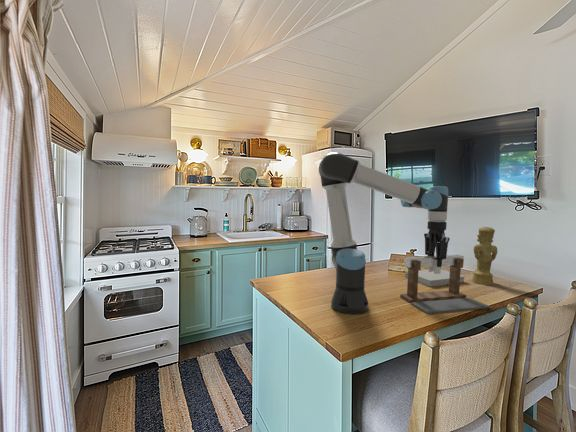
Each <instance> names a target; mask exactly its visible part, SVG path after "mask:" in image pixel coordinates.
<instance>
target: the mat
mask: <svg viewBox="0 0 576 432" xmlns="http://www.w3.org/2000/svg"><path fill="white" fill-rule="evenodd" d="M410 305H411V306H413V307H415V308H416V309H418V310H419V311H422V312H423V313H425V314H426V315H431V314H442V313H451V312H463V311H473V310H483V309H490V308H491V307H490V305H487V304H486V303H483V302H481V301H479V300H476V299H475V298H472V297H466V298H460V299H448V300H436V301H425V302H413V303H410Z"/></svg>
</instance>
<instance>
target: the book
mask: <svg viewBox="0 0 576 432" xmlns="http://www.w3.org/2000/svg"><path fill="white" fill-rule="evenodd" d="M404 277H405V278H406V279H408V271H406V272H404ZM449 277H450V270H449V271H448V270H445V269H442V268H441V274H434V272H429V271H428V269H422V270H421V269H420V270H418V284H419V283H420V284H422V285H424V286H427V287H430V288H432V287H439V286H440V287H441V286H447V284H448V285H449ZM465 278H466V276H465V275H462V274H460V284H462V283H461V282H463V283H464V282H465Z"/></svg>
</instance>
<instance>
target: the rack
mask: <svg viewBox="0 0 576 432" xmlns="http://www.w3.org/2000/svg"><path fill="white" fill-rule="evenodd" d="M463 261H464V262H465V258H464V259H456V265H451V266H449V272H450V277H449V284H448V290H436V291H424V292H423V291H422V292H418V288H419V286H418V285H419V282H418V271H420V270H421V268H422V267H421V261H413V268H409V267H407V266H405V267H406V268H407V272H408V278H407V288H406V290H407V291H406V293H400V296H399V297H400V298H401V299H402V300H404V301H405V302H407V303H408V304H411V303H413V302H425V301H436V300H448V299H460V298H467V294H465V293H462V292H461V291H460V285H461V283H460V275H461V270H462V269H463V268H464V265H463Z"/></svg>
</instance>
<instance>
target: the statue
mask: <svg viewBox="0 0 576 432" xmlns="http://www.w3.org/2000/svg"><path fill="white" fill-rule="evenodd" d="M495 231H496V229H494V228H492V227H489V226H482V227H479V228H478V234H476V236H477V239H476V241H477V242H479V243H478V244H475V245H474V246H473V253H474V254H473V255H474V258H475V259H476V260H477V261H476V267H477V268H476V269H475V270H474V271H473V276H472V277H471V280H470V281H471V282H472V283H475V284H477V283H478V284H479V285H482V286H483V285H485V286H493V285H494V284H495V283H494V279H493V276H494V275H493V273H491V269H492V268H491V267H492V262H493V261H494V260H495V259H496V258H497V254H498V247H497V246H496V245H492V243H493V242H494V235H495Z"/></svg>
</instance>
